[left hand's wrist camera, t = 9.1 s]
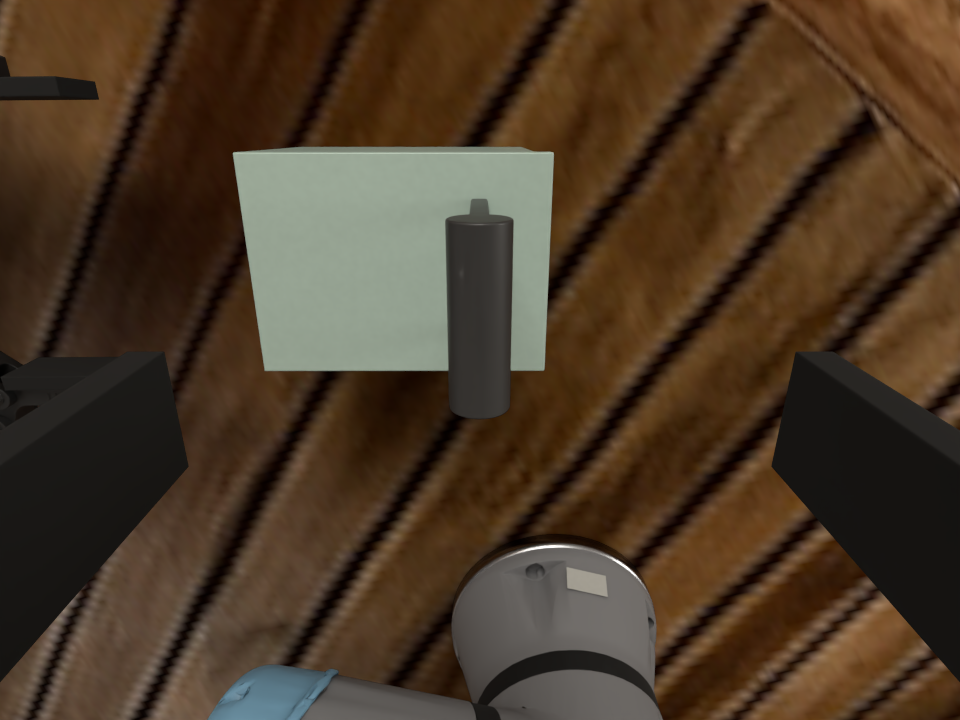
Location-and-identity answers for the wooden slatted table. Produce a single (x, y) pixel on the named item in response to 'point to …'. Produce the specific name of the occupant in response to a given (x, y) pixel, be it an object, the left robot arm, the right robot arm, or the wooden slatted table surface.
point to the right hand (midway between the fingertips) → (115, 243)
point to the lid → (402, 264)
